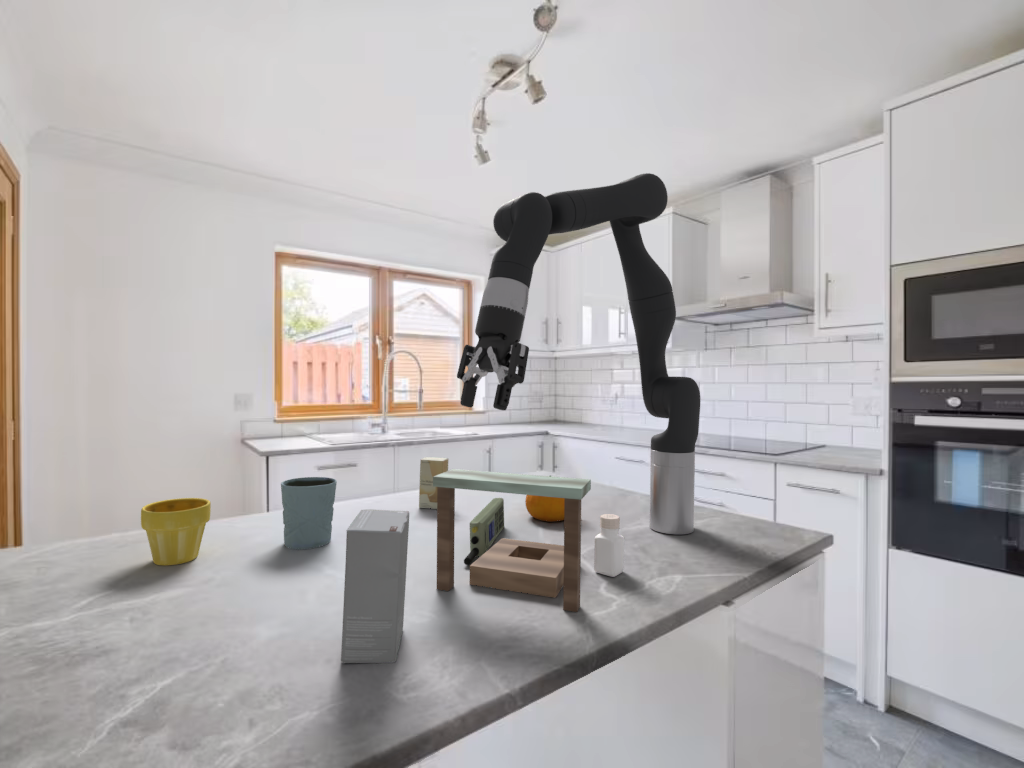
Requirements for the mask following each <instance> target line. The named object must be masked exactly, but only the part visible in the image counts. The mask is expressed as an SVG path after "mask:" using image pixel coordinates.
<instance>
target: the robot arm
mask: <svg viewBox="0 0 1024 768" xmlns="http://www.w3.org/2000/svg"><path fill="white" fill-rule="evenodd" d="M667 205H668V190H667V187H666V185H665V183H664V181H663V180H662V179H661V177H659V175H656V174H654V173H650V172H649V173H647V172H646V173H641V174H638V175H635V176H633V177H630V178H627V179H625V180H623V181H620V182H618V183H615V184H611V185H605V186H598V187H591V188H582V189H572V190H564V191H558V192H553V193H550V194H547V195H545V196H544V195H543V194H542V193H539V192H535V191H530V192H526V193H524V194H521V195H520V196H517V197H516V198H513V199H511V200H508V201H506V202H504V203H503V204H501V205H500V206H499V207H497V210H495V213H494V216H493V222H492V223H493V224H492V225H493V228H494V232H495V233H496V235H497V236H498V237H499V238H500V239H501V240H502V241H505V243H504V244H503V245H501V246H500V247H499V248H497V250H495V253H494V255H493V257H492V260H491V264H490V269H489V272H488V273H489V274H488V278H487V282H486V285H485V288H484V290H483V293H482V298H481V302H480V307H479V312H478V317H477V321H476V325H475V329H474V332H475V335H476V336H477V338H478V342H477V344H476V346H473V345H469V344H465V345H464V347H463V351H462V354H461V359H460V362H459V366H458V370H457V373H456V377H457V379H460V380H461V381H462V382H463V386H462V390H461V396H460V405H461V406H463V407H467V408H473V407H474V404H475V400H476V394H477V390H478V384H479V382H480V381H481V379H482V378H484V377H486V376H487V375H488V373H495V374H496V376H497V380H498V383H497V386H496V389H495V395H494V398H493V399H494V401H493V406H492V407H493V409H497V410H500V411H506V410H507V409H508V406H509V404H510V399H511V395H512V390H513V388H514V387H515V385H516V384H520V385H521V384H523V383H524V382H525V378H526V370H527V365H528V364H527V363H528V359H529V352H530V347H529V345H525V344H524V343H520V342H521V338H522V334H523V328H524V324H525V319H526V313H527V310H528V305H529V293H530V289H531V288H530V287H531V282H532V278H533V274H534V267H535V265H536V263H537V261H538V259H539V257H540V255H541V252H542V250H543V248H544V247H545V244H546V242H547V240H548V237H549V235H556V234H564V233H569V232H575V231H579V230H584V229H588V228H590V227H594V226H597V225H600V224H603V223H607V222H609V224H610V229H611V232H612V234H613V239H614V241H615V244H616V248H617V251H618V252H617V253H618V255H619V258H620V264H621V269H622V273H623V277H624V282H625V287H626V288H625V289H626V293H627V294H626V295H627V300H628V306H629V310H630V316H631V320H632V325H633V330H634V335H635V340H636V346H637V352H638V361H639V370H640V380H641V381H640V382H641V383H640V384H641V394H642V399H643V404H644V407H645V410H646V411H647V412H648V413H649V415H651V416H652V417H654V418H660V419H668V422H667V423H668V424H667V428H666V429H665V430H664V431H663V432H661V433H657V434H655V435H652V436H651V438H650V469H649V470H650V472H649V473H650V477H649V478H650V480H649V482H650V483H649V528H650V529H651V530H653V531H655V532H658V533H661V534H662V533H663V534H667V535H687V534H692V533H693V532H694V530H695V529H694V523H695V521H694V520H695V467H696V463H695V461H696V460H695V459H696V444H697V440H698V437H699V428H700V413H701V391H700V388H699V385H698V383H697V381H695V379H693V378H692V377H687V376H669V374H668V369H667V363H666V362H667V361H666V349H667V346H668V343H669V340H670V337H671V334H672V332H673V329H674V326H675V323H676V319H677V317H676V316H677V310H676V309H677V308H676V307H677V306H676V303H675V297H674V291H673V285H672V282H671V280H670V279H669V277H668V276H667V274H666V273H665V271H664V270H663V269H662V267H660V266H659V264H658V263H657V262H656V261H655V260H654V259H653V257H652V255H650V254H649V252H648V250H647V249H646V247H645V244H644V241H643V238H642V233H641V230H640V225H641V224H644V223H648V222H650V221H653V220H656V219H658V217H660V216H661V215H662V214H663V213H664V211H665V210H666V208H667ZM466 367H467V368H468V369H467V371H466V372H465V370H466ZM517 368H518V369H517ZM516 372H517V373H516ZM474 374H475V375H474Z"/></svg>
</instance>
